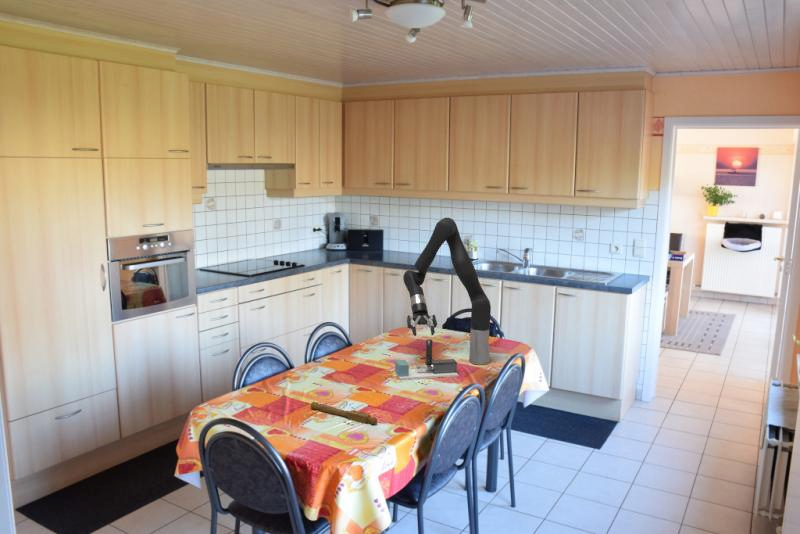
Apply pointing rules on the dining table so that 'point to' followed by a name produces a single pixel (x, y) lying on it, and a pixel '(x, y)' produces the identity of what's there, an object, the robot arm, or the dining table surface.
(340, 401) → the dining table surface
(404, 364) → the socket block
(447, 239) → the robot arm
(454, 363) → the outer sleeve
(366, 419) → the brown wooden stick
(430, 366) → the slip tube
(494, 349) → the dining table surface
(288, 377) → the dining table surface
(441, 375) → the base board
